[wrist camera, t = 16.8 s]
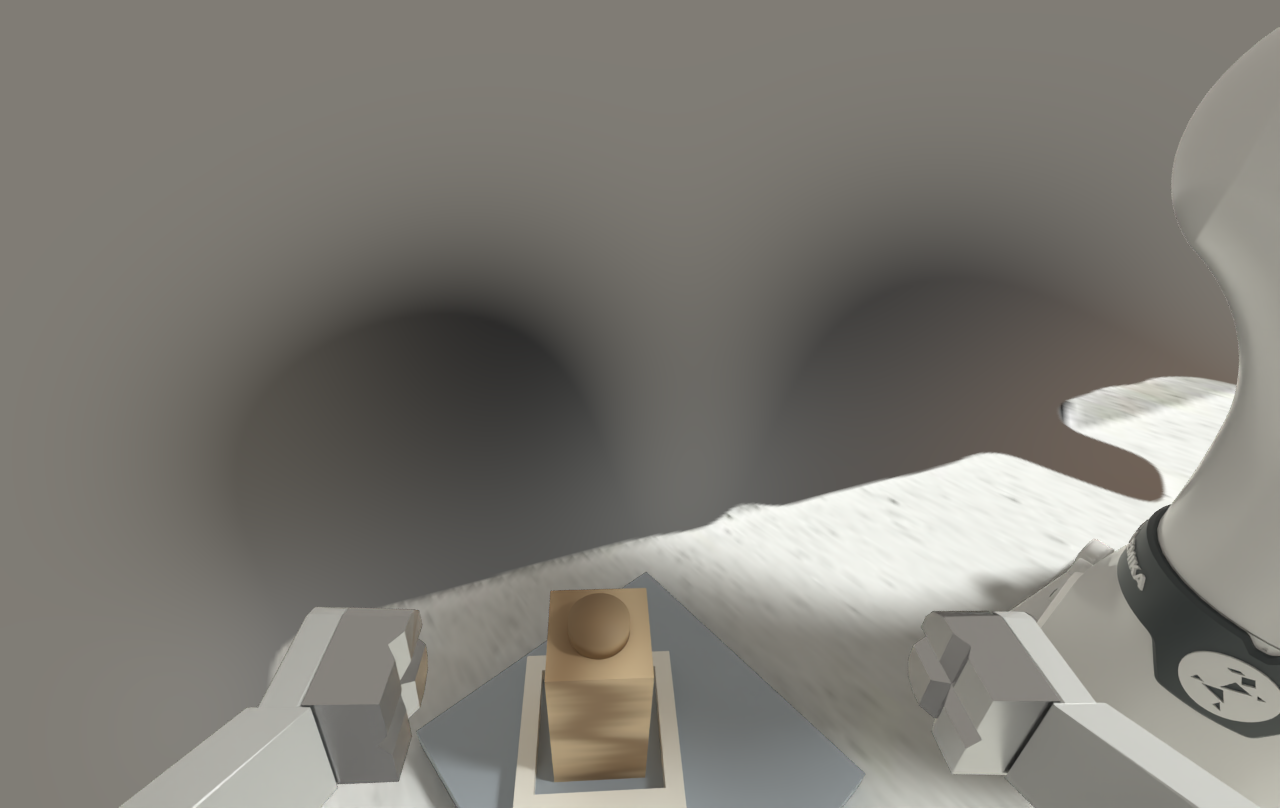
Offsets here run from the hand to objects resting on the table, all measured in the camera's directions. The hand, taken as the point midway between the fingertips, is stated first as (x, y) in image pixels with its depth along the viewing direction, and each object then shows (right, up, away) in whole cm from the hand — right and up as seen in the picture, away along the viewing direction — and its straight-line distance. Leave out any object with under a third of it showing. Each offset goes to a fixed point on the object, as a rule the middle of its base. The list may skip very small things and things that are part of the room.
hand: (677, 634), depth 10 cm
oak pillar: (-3, -16, +26) cm, 30 cm away
